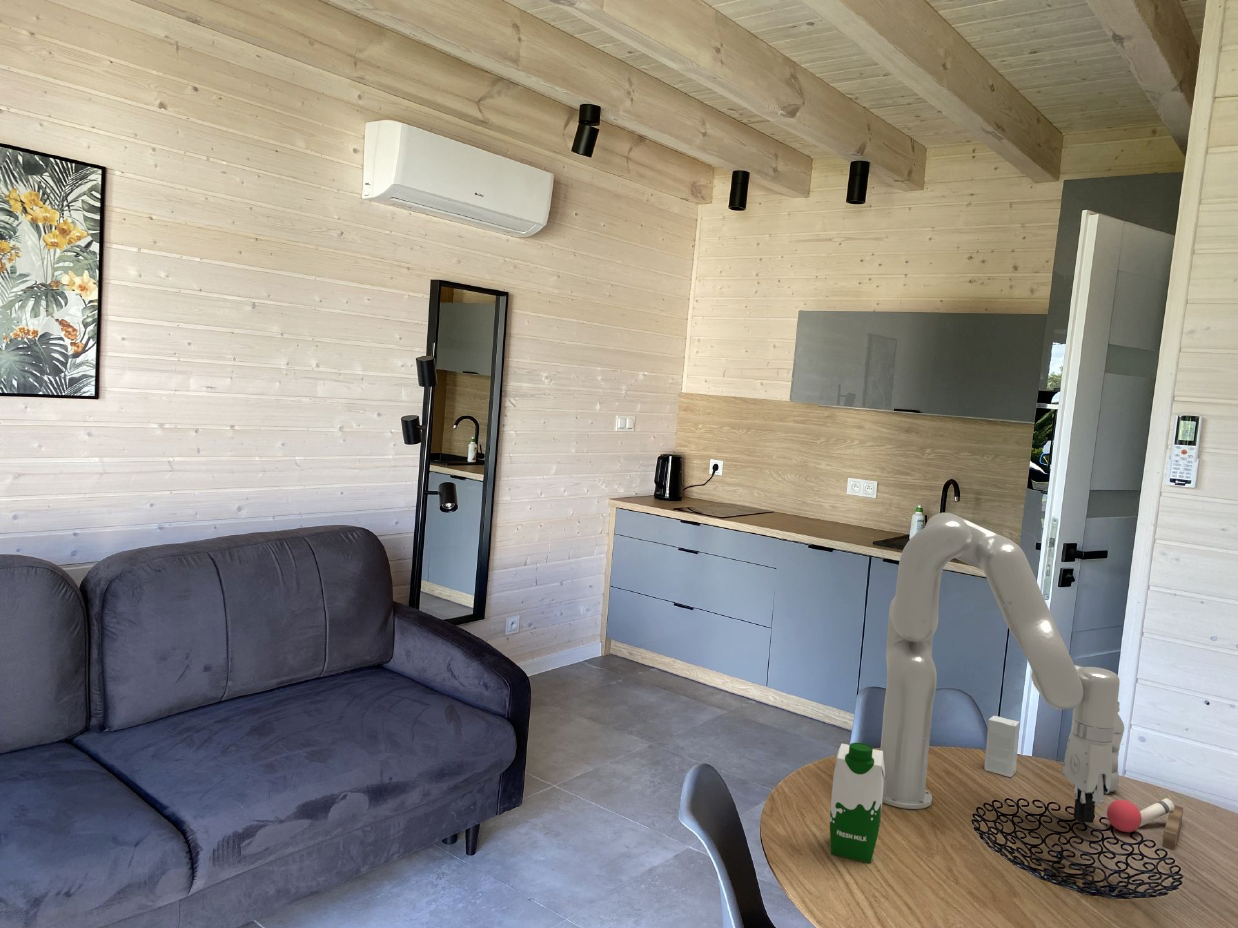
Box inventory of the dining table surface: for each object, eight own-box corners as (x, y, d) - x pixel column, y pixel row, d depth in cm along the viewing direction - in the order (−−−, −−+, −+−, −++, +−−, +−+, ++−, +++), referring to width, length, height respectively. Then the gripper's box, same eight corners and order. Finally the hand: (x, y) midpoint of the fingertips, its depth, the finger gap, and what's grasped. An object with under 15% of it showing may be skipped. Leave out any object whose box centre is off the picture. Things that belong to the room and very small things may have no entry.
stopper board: (1174, 849, 170) (1176, 834, 170) (1162, 845, 171) (1164, 830, 171) (1181, 821, 183) (1183, 807, 183) (1170, 818, 184) (1171, 804, 184)
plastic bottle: (1109, 784, 200) (1118, 697, 199) (1123, 797, 193) (1132, 707, 192) (1079, 781, 201) (1088, 694, 199) (1092, 793, 194) (1101, 704, 193)
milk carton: (825, 855, 158) (834, 746, 157) (830, 833, 167) (839, 730, 166) (876, 867, 156) (886, 755, 154) (878, 844, 164) (888, 738, 163)
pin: (1129, 812, 180) (1163, 795, 182) (1131, 822, 180) (1165, 805, 182) (1139, 818, 178) (1173, 801, 179) (1141, 829, 178) (1175, 812, 180)
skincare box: (1016, 772, 203) (1021, 721, 202) (1010, 778, 200) (1016, 726, 199) (988, 764, 207) (993, 714, 206) (983, 769, 204) (987, 718, 203)
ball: (1151, 812, 173) (1143, 840, 174) (1135, 797, 179) (1127, 824, 180) (1120, 805, 174) (1112, 834, 174) (1105, 791, 179) (1098, 818, 180)
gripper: (1055, 716, 184) (1047, 802, 185) (1092, 743, 169) (1083, 837, 170) (1092, 719, 183) (1083, 805, 185) (1132, 746, 169) (1122, 840, 170)
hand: (1083, 820), depth 177 cm, fingers closed
